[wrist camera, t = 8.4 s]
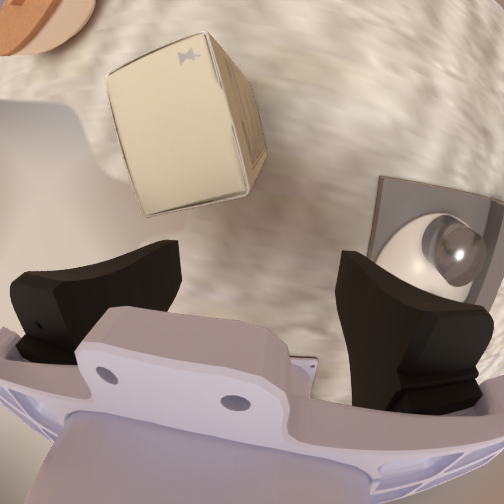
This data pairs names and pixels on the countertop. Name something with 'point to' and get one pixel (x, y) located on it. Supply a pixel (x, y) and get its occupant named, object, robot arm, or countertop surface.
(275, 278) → the countertop surface
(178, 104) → the skincare box
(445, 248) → the cylinder
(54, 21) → the lidded jar
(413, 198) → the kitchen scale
